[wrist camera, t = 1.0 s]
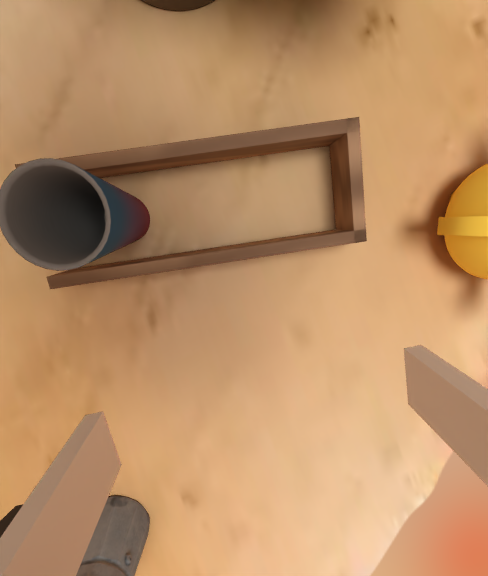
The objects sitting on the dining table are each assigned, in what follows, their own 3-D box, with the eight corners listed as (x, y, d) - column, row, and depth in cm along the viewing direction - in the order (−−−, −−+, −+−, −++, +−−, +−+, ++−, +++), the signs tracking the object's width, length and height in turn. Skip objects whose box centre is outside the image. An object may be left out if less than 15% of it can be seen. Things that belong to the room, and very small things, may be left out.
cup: (158, 188, 34) (110, 163, 19) (157, 252, 35) (111, 273, 20) (93, 183, 33) (-9, 153, 19) (94, 248, 35) (1, 267, 20)
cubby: (45, 173, 33) (14, 164, 28) (339, 132, 34) (359, 117, 29) (74, 279, 35) (50, 289, 30) (347, 238, 36) (366, 241, 31)
